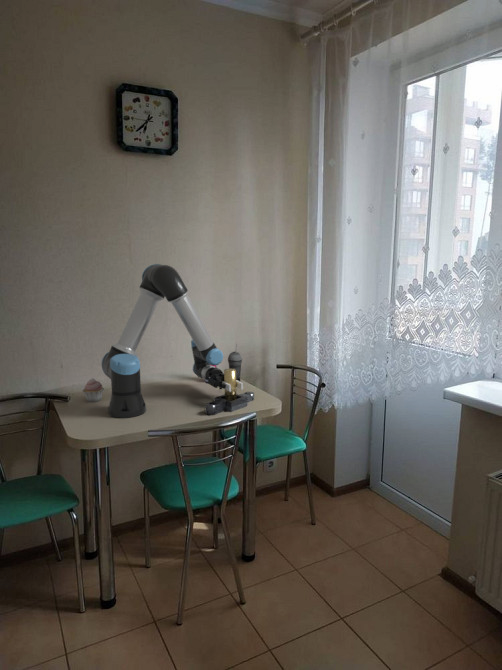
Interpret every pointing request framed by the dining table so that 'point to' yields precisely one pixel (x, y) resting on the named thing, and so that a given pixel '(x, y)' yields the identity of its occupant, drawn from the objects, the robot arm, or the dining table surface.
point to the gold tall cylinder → (230, 379)
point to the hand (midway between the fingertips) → (236, 387)
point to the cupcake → (93, 390)
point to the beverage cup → (235, 362)
